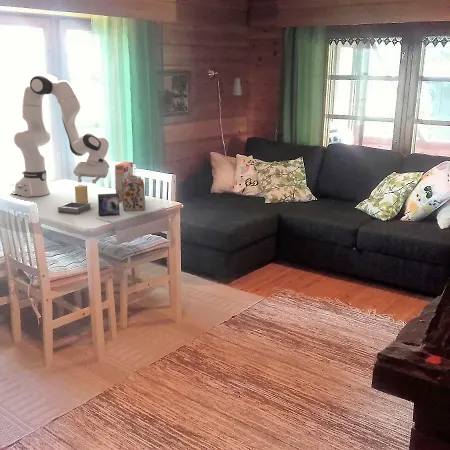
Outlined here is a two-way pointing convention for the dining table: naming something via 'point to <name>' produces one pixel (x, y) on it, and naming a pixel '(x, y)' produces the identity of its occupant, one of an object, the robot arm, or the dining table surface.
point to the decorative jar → (133, 194)
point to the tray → (74, 208)
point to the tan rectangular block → (81, 194)
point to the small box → (108, 204)
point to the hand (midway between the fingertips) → (86, 182)
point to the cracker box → (122, 175)
